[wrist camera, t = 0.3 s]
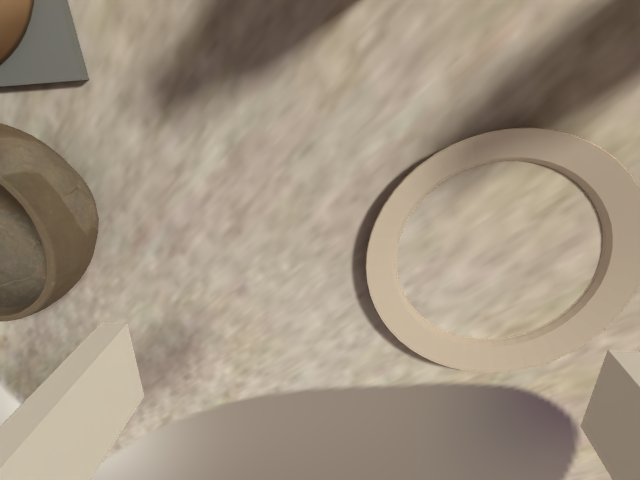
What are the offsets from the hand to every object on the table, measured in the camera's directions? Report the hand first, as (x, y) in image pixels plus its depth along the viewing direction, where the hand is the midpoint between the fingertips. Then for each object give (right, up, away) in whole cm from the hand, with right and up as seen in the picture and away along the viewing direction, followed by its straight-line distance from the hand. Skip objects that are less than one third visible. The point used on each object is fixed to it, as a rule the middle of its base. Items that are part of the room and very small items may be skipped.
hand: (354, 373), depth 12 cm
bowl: (-30, +8, +31) cm, 44 cm away
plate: (+16, +2, +29) cm, 33 cm away
